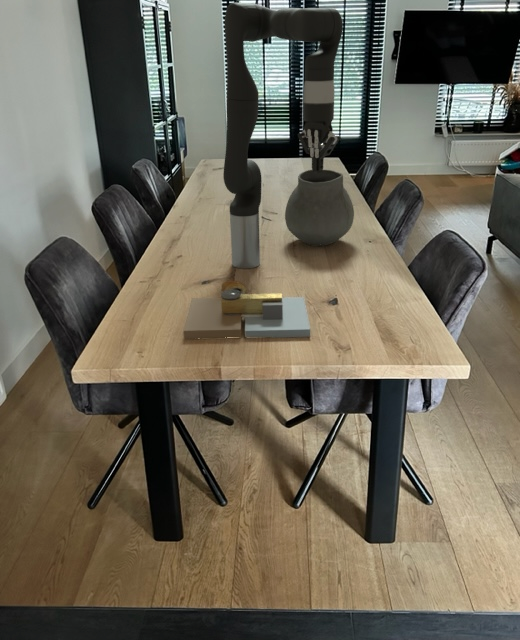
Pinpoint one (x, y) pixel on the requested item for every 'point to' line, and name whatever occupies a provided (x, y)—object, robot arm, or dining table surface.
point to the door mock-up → (247, 320)
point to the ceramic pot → (319, 208)
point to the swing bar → (246, 301)
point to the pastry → (233, 286)
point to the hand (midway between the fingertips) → (317, 171)
